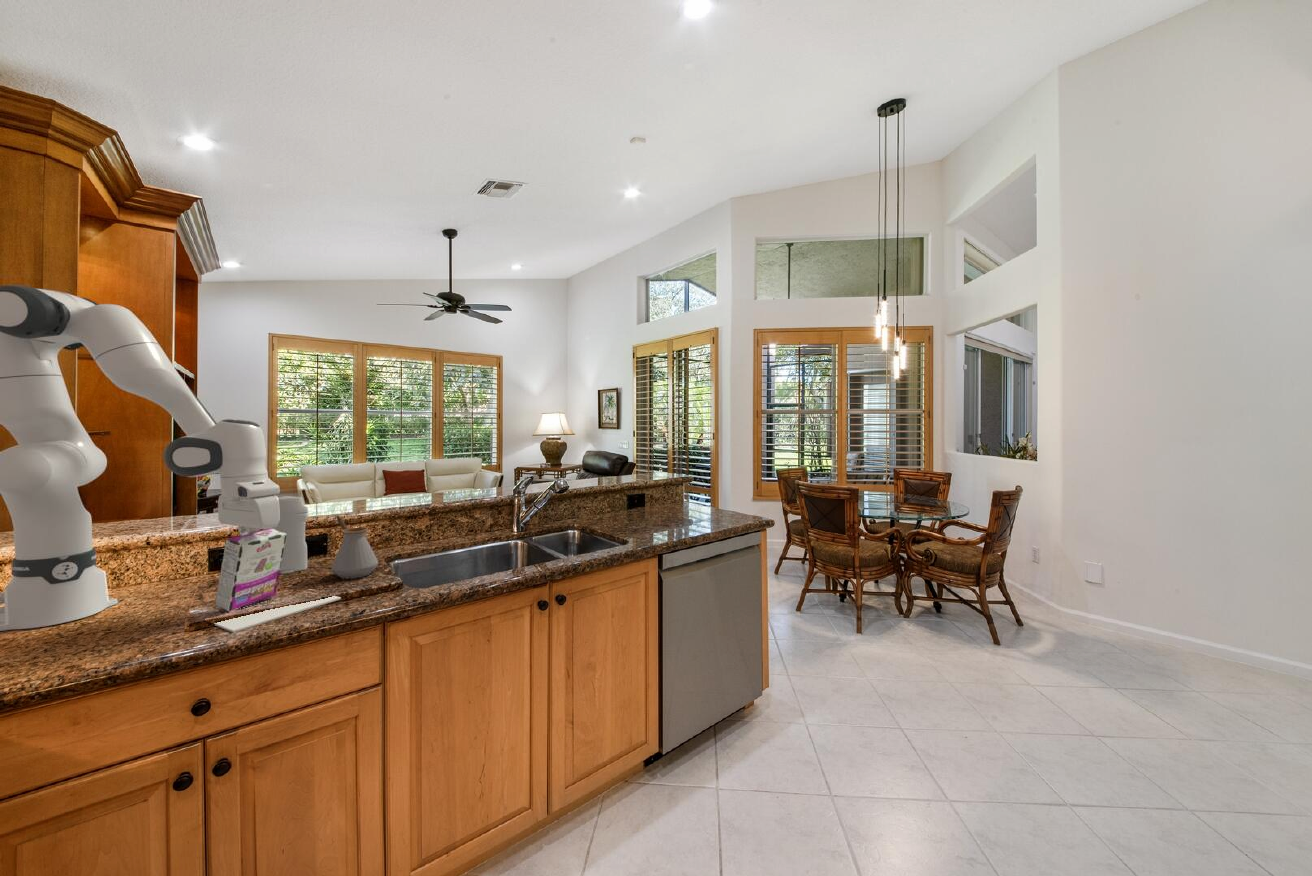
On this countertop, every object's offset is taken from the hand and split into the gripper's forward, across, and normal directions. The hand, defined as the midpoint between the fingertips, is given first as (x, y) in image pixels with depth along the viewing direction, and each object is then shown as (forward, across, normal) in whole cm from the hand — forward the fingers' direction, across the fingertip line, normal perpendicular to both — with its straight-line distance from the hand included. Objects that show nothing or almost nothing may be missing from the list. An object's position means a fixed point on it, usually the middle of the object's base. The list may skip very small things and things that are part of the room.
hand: (249, 544), depth 121 cm
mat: (+14, +10, 0) cm, 17 cm away
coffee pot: (+15, -4, +26) cm, 30 cm away
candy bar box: (+13, 0, -2) cm, 13 cm away
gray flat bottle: (+14, -20, +17) cm, 30 cm away
